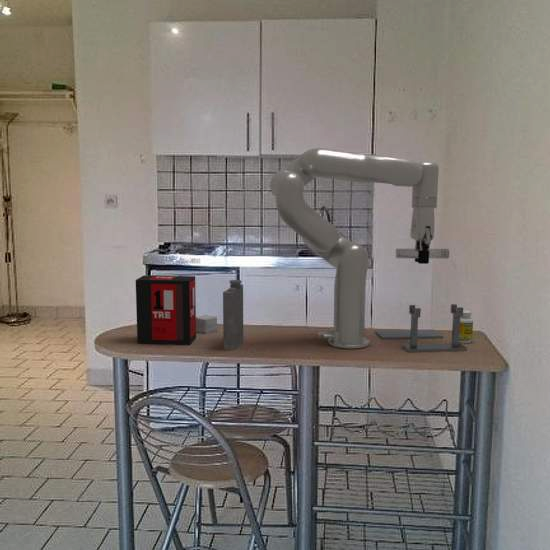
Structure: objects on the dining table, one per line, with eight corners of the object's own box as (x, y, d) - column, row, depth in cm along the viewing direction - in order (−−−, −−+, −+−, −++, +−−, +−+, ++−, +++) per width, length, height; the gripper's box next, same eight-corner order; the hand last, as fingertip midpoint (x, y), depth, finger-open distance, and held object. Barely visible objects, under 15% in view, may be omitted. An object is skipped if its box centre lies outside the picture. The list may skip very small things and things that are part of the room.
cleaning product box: (196, 338, 205) (195, 276, 202) (190, 345, 196) (189, 280, 193) (145, 336, 206) (143, 275, 203) (137, 343, 198) (135, 279, 195)
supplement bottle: (462, 338, 206) (463, 308, 205) (475, 341, 202) (477, 311, 200) (450, 340, 203) (452, 310, 202) (464, 344, 199) (465, 313, 197)
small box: (205, 328, 218) (205, 314, 218) (217, 331, 215) (217, 316, 214) (193, 331, 214) (193, 317, 213) (205, 334, 211) (205, 319, 210)
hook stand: (408, 352, 189) (410, 309, 188) (402, 346, 195) (403, 304, 193) (466, 350, 191) (469, 307, 189) (459, 345, 197) (461, 303, 195)
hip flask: (234, 337, 206) (234, 276, 203) (247, 338, 205) (246, 276, 202) (222, 350, 190) (221, 284, 187) (235, 351, 190) (235, 284, 187)
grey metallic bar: (397, 258, 197) (398, 249, 197) (395, 257, 200) (395, 248, 200) (448, 259, 198) (449, 249, 198) (445, 257, 201) (446, 248, 200)
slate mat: (382, 339, 204) (382, 337, 204) (375, 332, 213) (375, 330, 213) (443, 337, 207) (443, 336, 206) (433, 331, 215) (433, 329, 215)
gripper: (405, 202, 204) (403, 259, 207) (419, 204, 188) (416, 266, 191) (428, 202, 205) (426, 259, 208) (444, 204, 189) (441, 266, 191)
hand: (421, 262), depth 199 cm, fingers closed on grey metallic bar, 3 cm apart
